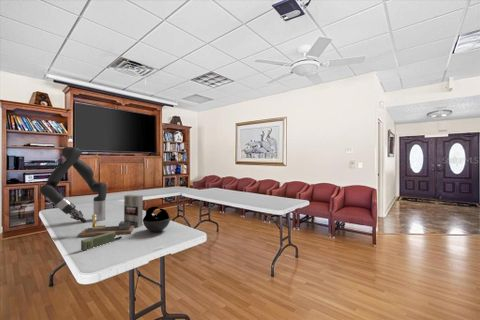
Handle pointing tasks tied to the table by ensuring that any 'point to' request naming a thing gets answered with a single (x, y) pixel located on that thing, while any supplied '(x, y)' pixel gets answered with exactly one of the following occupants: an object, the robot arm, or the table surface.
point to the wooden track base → (104, 231)
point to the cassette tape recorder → (133, 209)
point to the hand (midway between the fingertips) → (85, 222)
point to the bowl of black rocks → (156, 219)
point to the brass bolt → (95, 223)
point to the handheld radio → (98, 240)
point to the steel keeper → (124, 225)
